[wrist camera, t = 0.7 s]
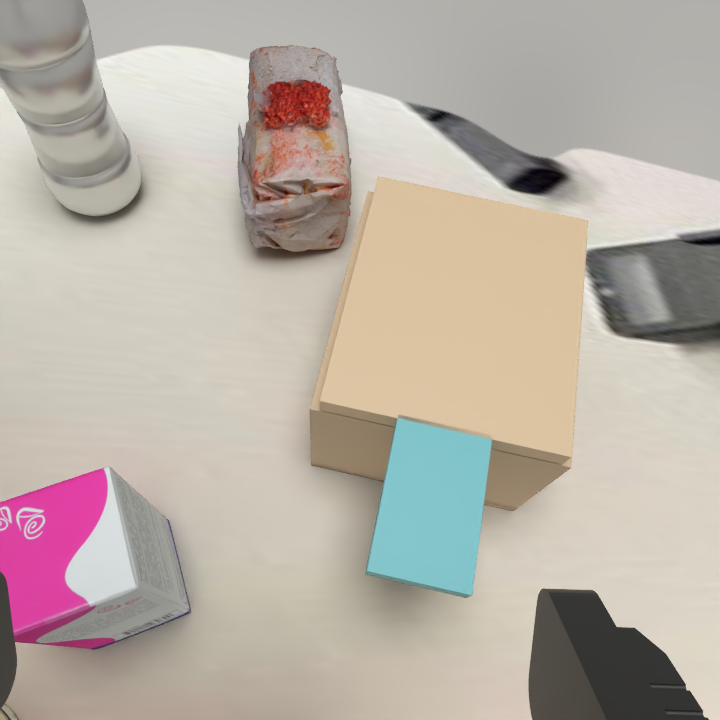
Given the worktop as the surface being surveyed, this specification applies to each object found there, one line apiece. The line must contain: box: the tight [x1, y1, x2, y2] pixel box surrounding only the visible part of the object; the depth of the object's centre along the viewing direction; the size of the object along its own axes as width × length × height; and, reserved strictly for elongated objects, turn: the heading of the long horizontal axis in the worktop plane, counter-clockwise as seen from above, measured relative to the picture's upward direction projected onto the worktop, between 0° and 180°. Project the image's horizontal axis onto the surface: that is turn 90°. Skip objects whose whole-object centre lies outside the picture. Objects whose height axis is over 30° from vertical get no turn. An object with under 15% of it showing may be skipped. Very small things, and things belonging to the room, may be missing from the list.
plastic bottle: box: [0, 0, 141, 216], centre depth 39 cm, size 6×7×20 cm
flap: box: [320, 177, 588, 598], centre depth 31 cm, size 12×21×1 cm, turn 168°
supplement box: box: [0, 467, 191, 649], centre depth 31 cm, size 6×6×12 cm
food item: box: [238, 45, 351, 252], centre depth 45 cm, size 14×8×10 cm, turn 7°
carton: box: [310, 191, 587, 511], centre depth 38 cm, size 13×14×10 cm
